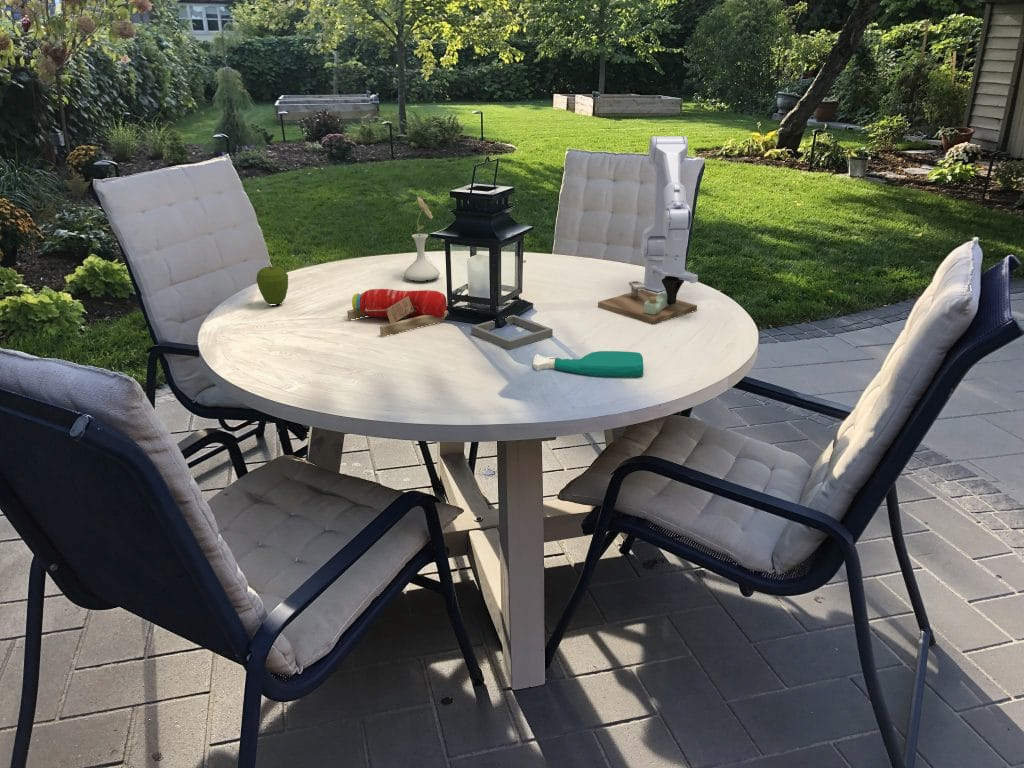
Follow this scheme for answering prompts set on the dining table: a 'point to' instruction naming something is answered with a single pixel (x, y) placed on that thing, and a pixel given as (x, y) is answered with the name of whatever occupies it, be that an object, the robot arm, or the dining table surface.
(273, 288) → the apple
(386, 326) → the bottle cradle
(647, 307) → the link
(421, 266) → the flower in vase
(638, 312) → the board
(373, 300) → the water bottle
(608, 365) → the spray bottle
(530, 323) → the mousse rim
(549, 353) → the dining table surface
